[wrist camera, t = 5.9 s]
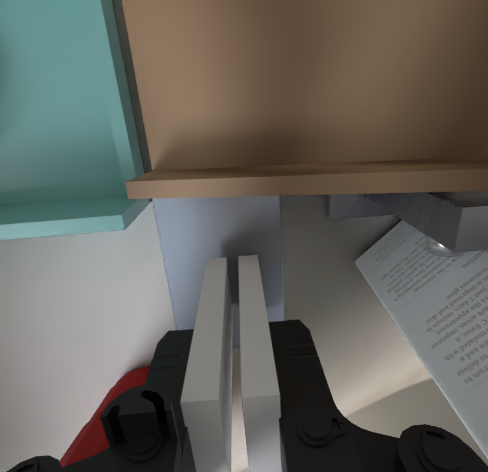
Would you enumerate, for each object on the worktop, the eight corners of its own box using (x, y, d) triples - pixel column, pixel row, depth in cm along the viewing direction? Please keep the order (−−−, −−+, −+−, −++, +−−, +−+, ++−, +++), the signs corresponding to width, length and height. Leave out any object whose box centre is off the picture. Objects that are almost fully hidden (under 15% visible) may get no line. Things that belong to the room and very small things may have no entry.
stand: (326, 216, 16) (391, 286, 10) (334, -115, 12) (469, -420, 5) (440, 206, 16) (582, 270, 10) (493, -128, 12) (839, -446, 5)
